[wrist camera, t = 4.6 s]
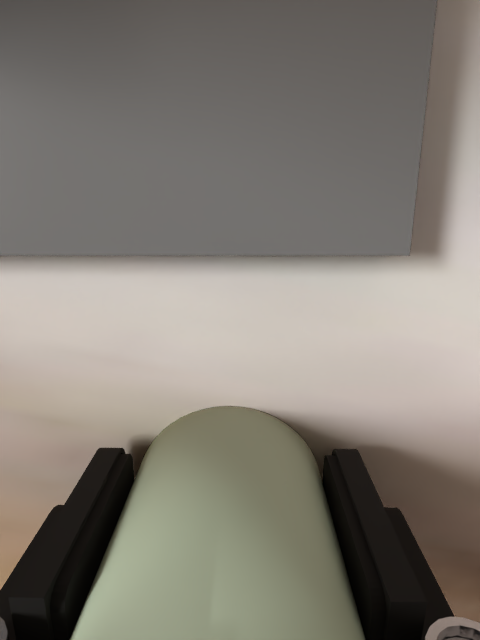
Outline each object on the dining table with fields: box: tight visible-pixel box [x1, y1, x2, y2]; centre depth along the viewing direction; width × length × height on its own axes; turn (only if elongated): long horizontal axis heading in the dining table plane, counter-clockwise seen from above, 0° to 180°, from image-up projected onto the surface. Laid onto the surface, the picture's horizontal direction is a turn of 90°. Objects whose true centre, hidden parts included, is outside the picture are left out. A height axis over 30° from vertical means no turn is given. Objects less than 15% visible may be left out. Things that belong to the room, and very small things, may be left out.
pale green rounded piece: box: [70, 406, 366, 640], centre depth 8 cm, size 5×5×6 cm
